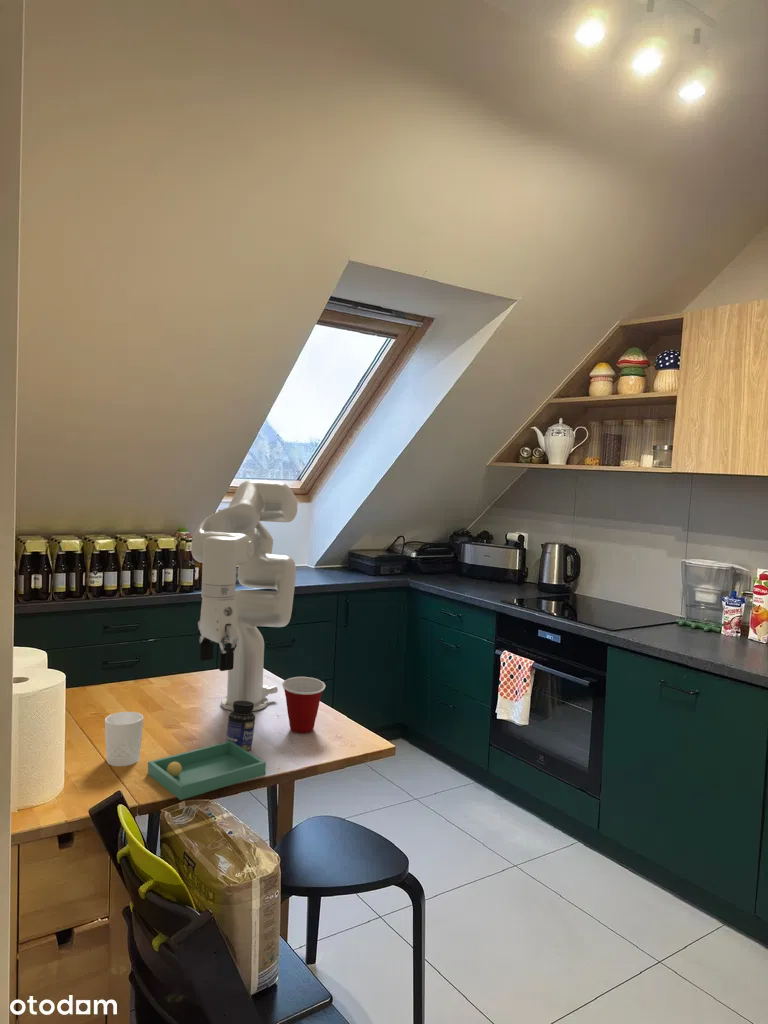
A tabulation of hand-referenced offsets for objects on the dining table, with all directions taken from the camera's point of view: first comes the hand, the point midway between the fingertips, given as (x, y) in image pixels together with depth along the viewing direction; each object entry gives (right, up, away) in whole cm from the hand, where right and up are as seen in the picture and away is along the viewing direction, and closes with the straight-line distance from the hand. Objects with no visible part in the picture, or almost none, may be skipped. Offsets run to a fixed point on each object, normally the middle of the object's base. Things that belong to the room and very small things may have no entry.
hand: (216, 664), depth 167 cm
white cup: (-19, -20, -7) cm, 28 cm away
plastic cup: (+18, -20, +17) cm, 32 cm away
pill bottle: (+5, -21, +2) cm, 21 cm away
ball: (-6, -20, -14) cm, 25 cm away
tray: (+1, -21, -12) cm, 24 cm away
